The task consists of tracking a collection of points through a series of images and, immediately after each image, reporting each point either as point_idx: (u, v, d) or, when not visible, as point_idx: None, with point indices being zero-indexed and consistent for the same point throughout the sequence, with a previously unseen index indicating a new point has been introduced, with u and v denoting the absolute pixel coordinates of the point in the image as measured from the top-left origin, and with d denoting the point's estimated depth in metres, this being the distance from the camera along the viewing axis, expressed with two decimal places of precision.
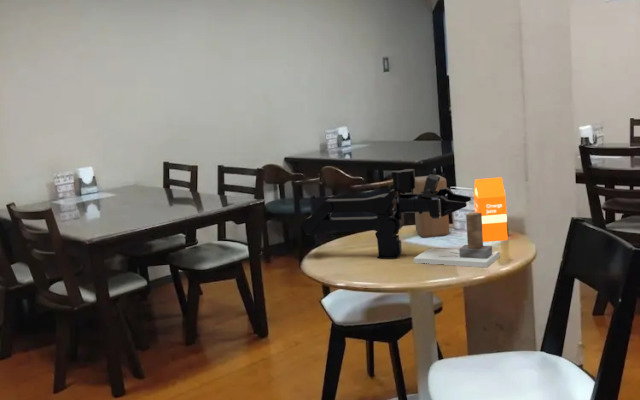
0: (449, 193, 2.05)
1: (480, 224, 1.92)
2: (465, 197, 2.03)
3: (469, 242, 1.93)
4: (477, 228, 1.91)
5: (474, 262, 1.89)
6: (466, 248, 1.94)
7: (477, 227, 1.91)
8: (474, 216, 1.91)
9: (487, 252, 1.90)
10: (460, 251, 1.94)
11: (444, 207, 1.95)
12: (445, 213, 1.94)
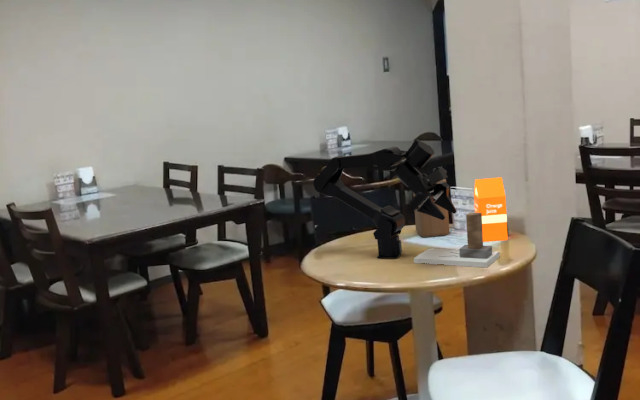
0: (444, 193, 2.01)
1: (480, 224, 1.92)
2: (452, 208, 2.00)
3: (469, 242, 1.93)
4: (477, 228, 1.91)
5: (474, 262, 1.89)
6: (466, 248, 1.94)
7: (477, 227, 1.91)
8: (474, 216, 1.91)
9: (487, 252, 1.90)
10: (460, 251, 1.94)
11: (426, 205, 1.93)
12: (422, 211, 1.93)
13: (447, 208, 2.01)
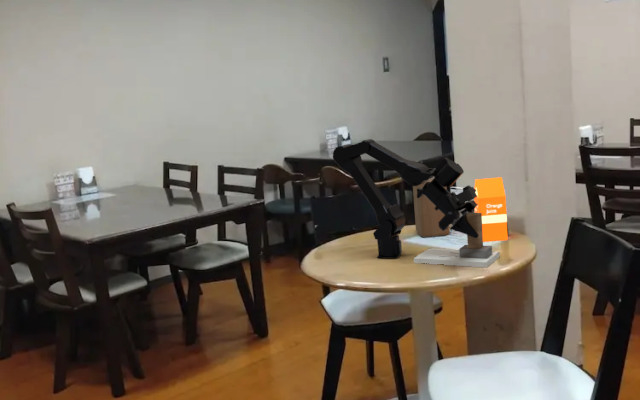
0: None
1: (480, 224, 1.92)
2: None
3: (469, 242, 1.93)
4: (477, 228, 1.91)
5: (474, 262, 1.89)
6: (466, 248, 1.94)
7: (477, 227, 1.91)
8: (474, 216, 1.91)
9: (487, 252, 1.90)
10: (460, 251, 1.94)
11: (459, 223, 1.92)
12: (455, 228, 1.92)
13: None
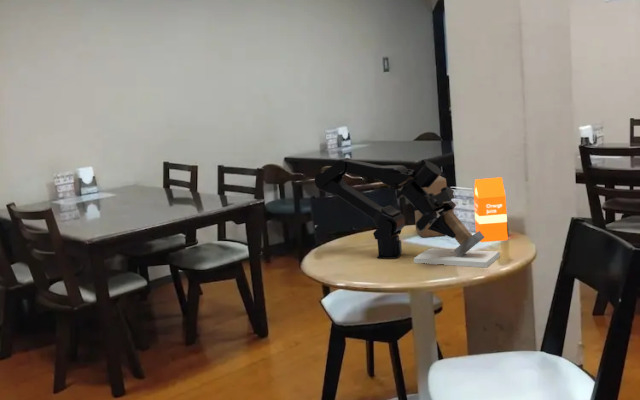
0: None
1: (455, 218, 1.96)
2: None
3: (457, 239, 1.95)
4: (454, 223, 1.94)
5: (474, 262, 1.89)
6: (459, 246, 1.95)
7: (454, 221, 1.94)
8: (445, 214, 1.95)
9: (475, 236, 1.91)
10: (456, 251, 1.95)
11: (437, 223, 1.96)
12: (433, 229, 1.96)
13: None
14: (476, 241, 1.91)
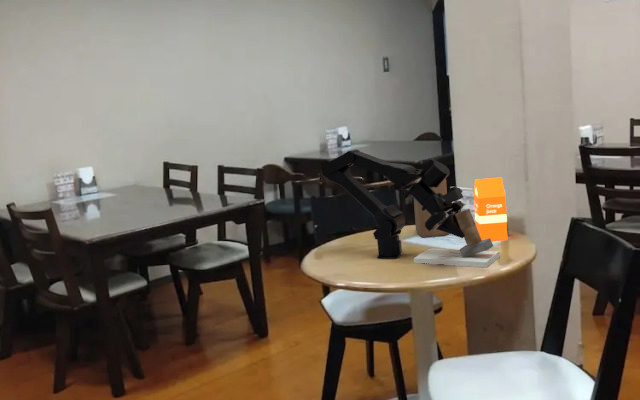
0: None
1: (471, 219, 1.93)
2: None
3: (467, 240, 1.93)
4: (469, 224, 1.92)
5: (474, 262, 1.89)
6: (466, 247, 1.94)
7: (469, 222, 1.92)
8: (463, 213, 1.92)
9: (486, 243, 1.90)
10: (461, 251, 1.94)
11: (445, 223, 1.94)
12: (442, 229, 1.94)
13: None
14: (484, 249, 1.90)
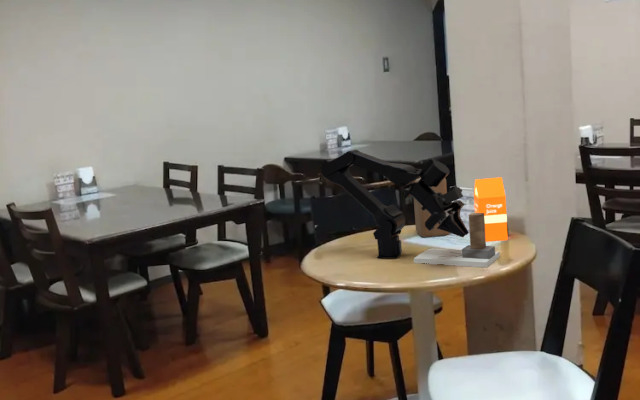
0: (456, 214, 1.97)
1: (483, 224, 1.91)
2: (464, 229, 1.96)
3: (472, 242, 1.93)
4: (479, 228, 1.91)
5: (474, 262, 1.89)
6: (469, 248, 1.93)
7: (479, 227, 1.90)
8: (476, 216, 1.90)
9: (489, 252, 1.90)
10: (463, 251, 1.94)
11: (446, 223, 1.94)
12: (442, 228, 1.95)
13: None
14: (486, 257, 1.90)
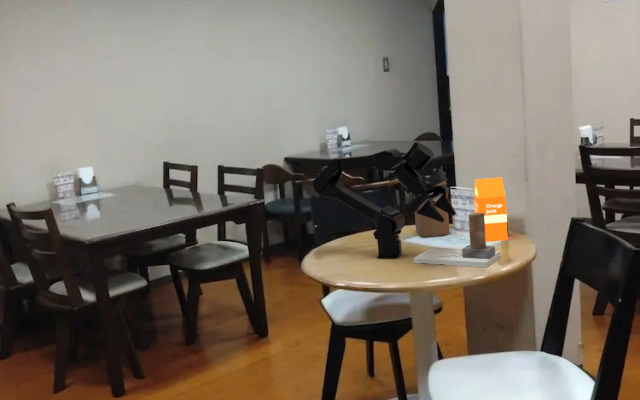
0: (444, 195, 2.02)
1: (483, 224, 1.91)
2: (452, 210, 2.00)
3: (472, 242, 1.93)
4: (479, 228, 1.91)
5: (474, 262, 1.89)
6: (469, 248, 1.93)
7: (479, 227, 1.90)
8: (476, 216, 1.90)
9: (489, 252, 1.90)
10: (463, 251, 1.94)
11: (425, 208, 1.94)
12: (421, 213, 1.94)
13: (446, 210, 2.01)
14: (486, 257, 1.90)
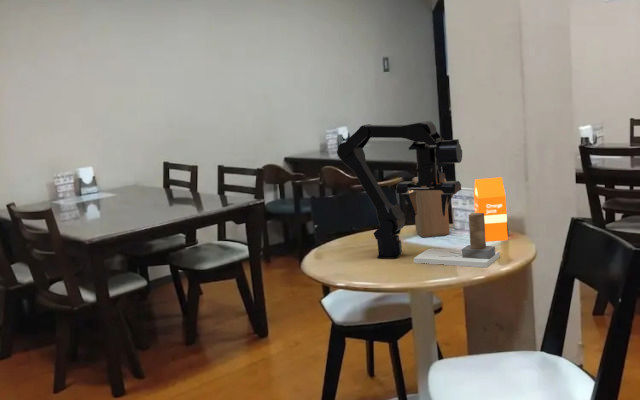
0: (415, 193, 2.04)
1: (483, 224, 1.91)
2: (416, 210, 2.03)
3: (472, 242, 1.93)
4: (479, 228, 1.91)
5: (474, 262, 1.89)
6: (469, 248, 1.93)
7: (479, 227, 1.90)
8: (476, 216, 1.90)
9: (489, 252, 1.90)
10: (463, 251, 1.94)
11: None
12: (447, 197, 1.95)
13: (414, 207, 2.02)
14: (486, 257, 1.90)
